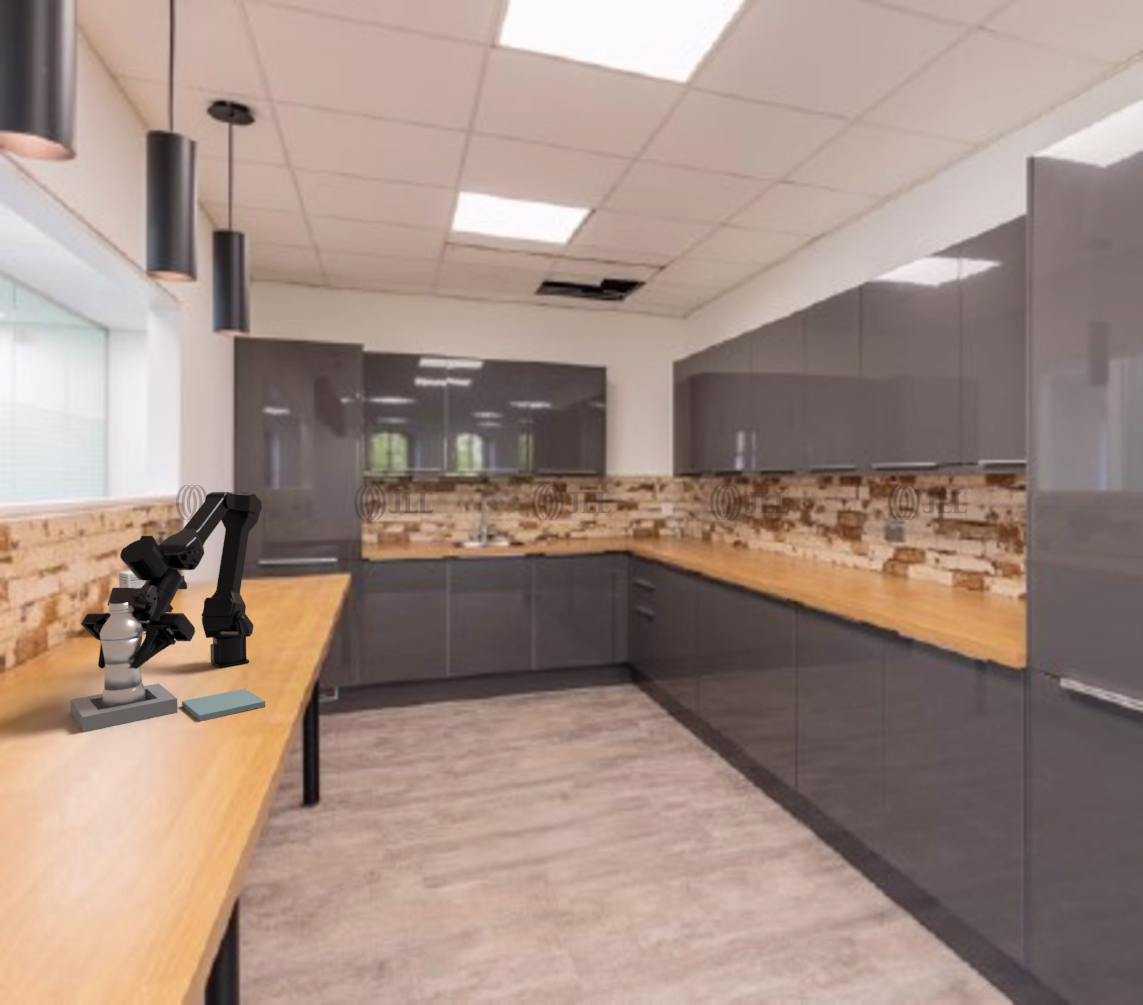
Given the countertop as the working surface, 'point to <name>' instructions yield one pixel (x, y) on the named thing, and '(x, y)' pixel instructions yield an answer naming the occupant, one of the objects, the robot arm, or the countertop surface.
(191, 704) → the coaster
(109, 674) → the plastic bottle
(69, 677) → the countertop surface
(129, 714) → the pocket holder
